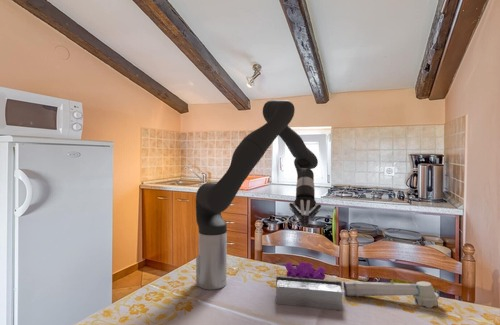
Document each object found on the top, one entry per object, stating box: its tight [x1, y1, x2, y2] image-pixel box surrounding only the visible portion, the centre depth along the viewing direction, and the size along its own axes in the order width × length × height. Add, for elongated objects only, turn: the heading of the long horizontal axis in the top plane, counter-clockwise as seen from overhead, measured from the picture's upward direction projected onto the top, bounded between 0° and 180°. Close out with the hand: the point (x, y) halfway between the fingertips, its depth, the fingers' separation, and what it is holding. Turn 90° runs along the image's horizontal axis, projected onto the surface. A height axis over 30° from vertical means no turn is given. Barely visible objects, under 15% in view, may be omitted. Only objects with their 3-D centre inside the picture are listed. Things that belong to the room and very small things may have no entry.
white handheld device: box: [342, 279, 440, 309], centre depth 84 cm, size 5×7×25 cm
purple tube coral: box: [284, 261, 327, 280], centre depth 93 cm, size 11×15×10 cm
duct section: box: [275, 275, 343, 311], centre depth 82 cm, size 19×6×6 cm, turn 79°
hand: (304, 225), depth 106 cm, fingers closed
